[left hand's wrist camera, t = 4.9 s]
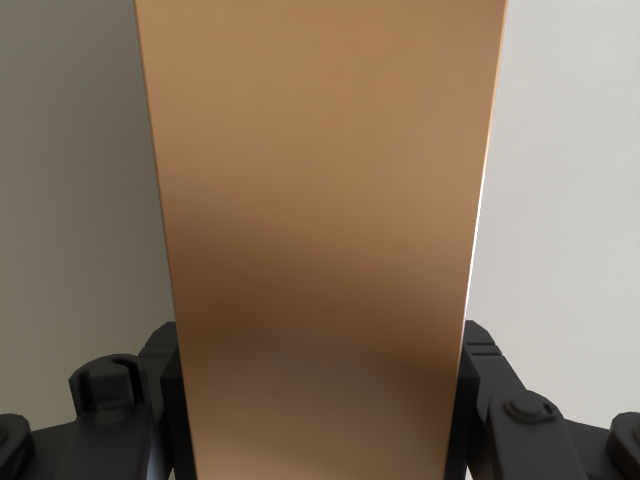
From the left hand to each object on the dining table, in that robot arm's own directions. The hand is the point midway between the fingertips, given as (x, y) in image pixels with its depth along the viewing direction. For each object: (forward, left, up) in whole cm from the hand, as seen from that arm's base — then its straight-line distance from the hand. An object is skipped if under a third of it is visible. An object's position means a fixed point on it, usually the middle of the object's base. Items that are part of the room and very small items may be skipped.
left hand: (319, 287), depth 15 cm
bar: (+16, +18, -1) cm, 24 cm away
